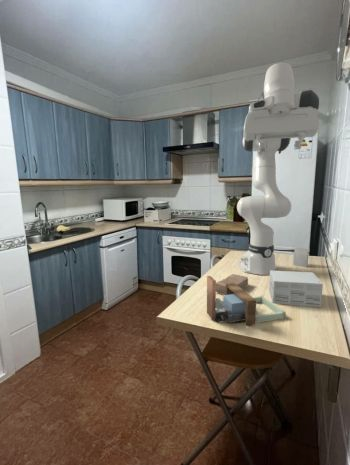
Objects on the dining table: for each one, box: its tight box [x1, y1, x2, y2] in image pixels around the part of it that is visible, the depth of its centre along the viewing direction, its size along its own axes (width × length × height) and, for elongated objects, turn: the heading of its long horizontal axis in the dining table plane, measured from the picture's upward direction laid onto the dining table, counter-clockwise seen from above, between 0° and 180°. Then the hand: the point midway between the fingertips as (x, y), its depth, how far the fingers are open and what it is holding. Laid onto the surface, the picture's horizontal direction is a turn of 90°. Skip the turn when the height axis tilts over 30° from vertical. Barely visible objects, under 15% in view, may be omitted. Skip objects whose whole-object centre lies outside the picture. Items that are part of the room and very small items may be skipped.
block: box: [222, 294, 246, 315], centre depth 90 cm, size 7×8×6 cm
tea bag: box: [292, 246, 309, 268], centre depth 142 cm, size 4×7×10 cm, turn 53°
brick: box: [216, 273, 249, 295], centre depth 112 cm, size 17×8×5 cm, turn 142°
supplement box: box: [268, 270, 324, 308], centre depth 101 cm, size 17×13×9 cm
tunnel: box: [225, 282, 257, 327], centre depth 90 cm, size 16×3×8 cm, turn 14°
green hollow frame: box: [252, 295, 287, 323], centre depth 92 cm, size 14×11×2 cm
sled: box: [206, 275, 245, 323], centre depth 88 cm, size 11×14×13 cm
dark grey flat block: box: [213, 316, 226, 323], centre depth 88 cm, size 7×3×1 cm, turn 14°
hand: (279, 149), depth 72 cm, fingers open, 8 cm apart
